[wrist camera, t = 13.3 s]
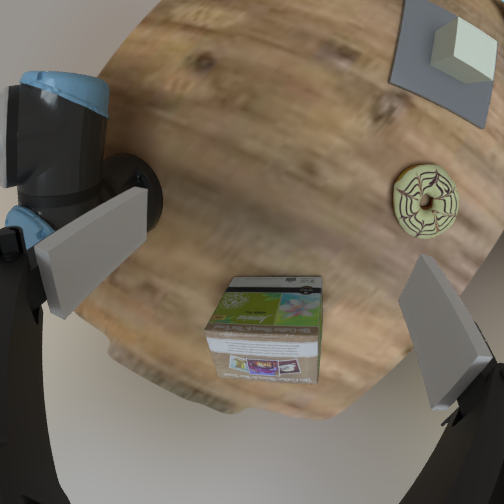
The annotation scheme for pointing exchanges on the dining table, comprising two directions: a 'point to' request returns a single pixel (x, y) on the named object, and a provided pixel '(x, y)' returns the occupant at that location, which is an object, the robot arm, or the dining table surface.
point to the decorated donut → (410, 193)
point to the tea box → (268, 330)
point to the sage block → (464, 52)
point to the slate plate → (428, 77)
